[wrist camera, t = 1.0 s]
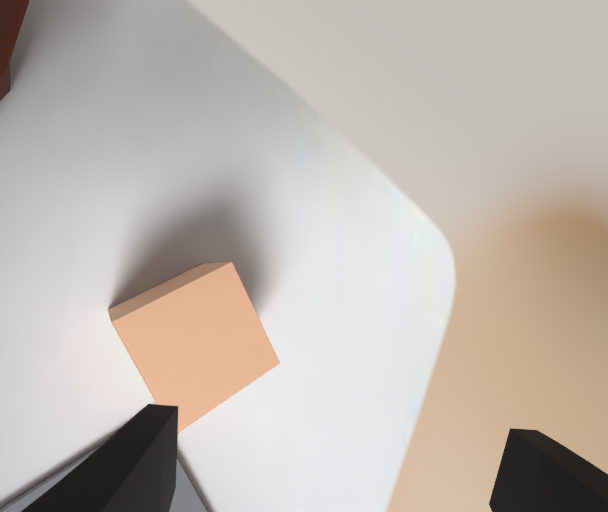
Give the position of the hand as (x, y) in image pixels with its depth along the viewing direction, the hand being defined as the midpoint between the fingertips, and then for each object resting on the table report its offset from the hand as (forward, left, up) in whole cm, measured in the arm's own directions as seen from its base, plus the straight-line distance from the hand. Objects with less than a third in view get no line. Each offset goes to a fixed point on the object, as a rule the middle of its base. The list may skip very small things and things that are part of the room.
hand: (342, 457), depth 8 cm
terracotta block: (0, +1, -14) cm, 14 cm away
